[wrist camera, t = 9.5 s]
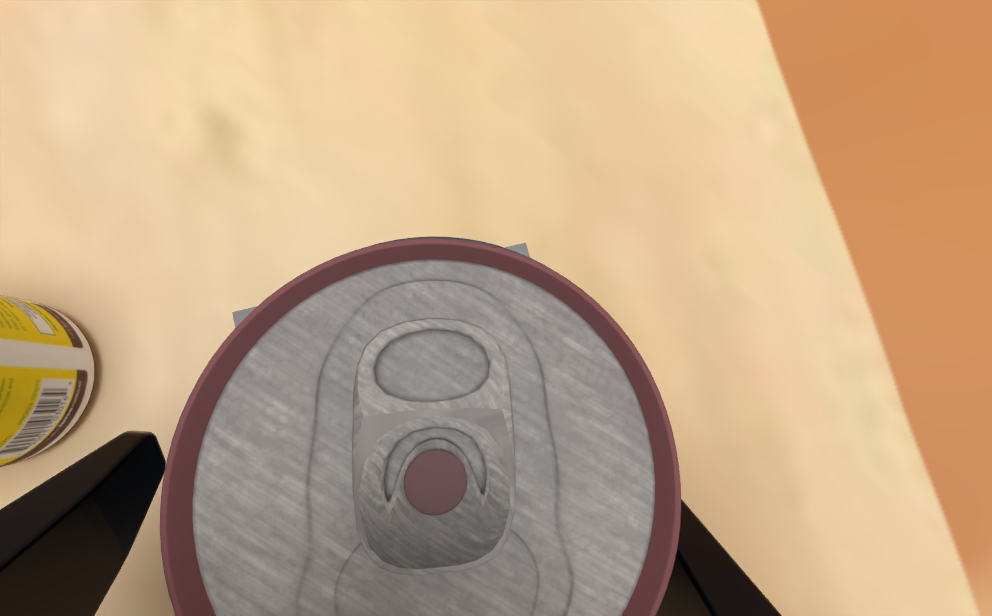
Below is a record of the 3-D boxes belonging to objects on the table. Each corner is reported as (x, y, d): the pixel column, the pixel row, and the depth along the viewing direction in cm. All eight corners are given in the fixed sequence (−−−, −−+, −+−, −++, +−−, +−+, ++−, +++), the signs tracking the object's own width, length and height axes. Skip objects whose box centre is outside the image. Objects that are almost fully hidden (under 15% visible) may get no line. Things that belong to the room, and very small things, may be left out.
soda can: (543, 515, 17) (775, 803, 5) (341, 532, 16) (54, 921, 4) (531, 321, 18) (694, 187, 6) (342, 328, 17) (121, 189, 5)
